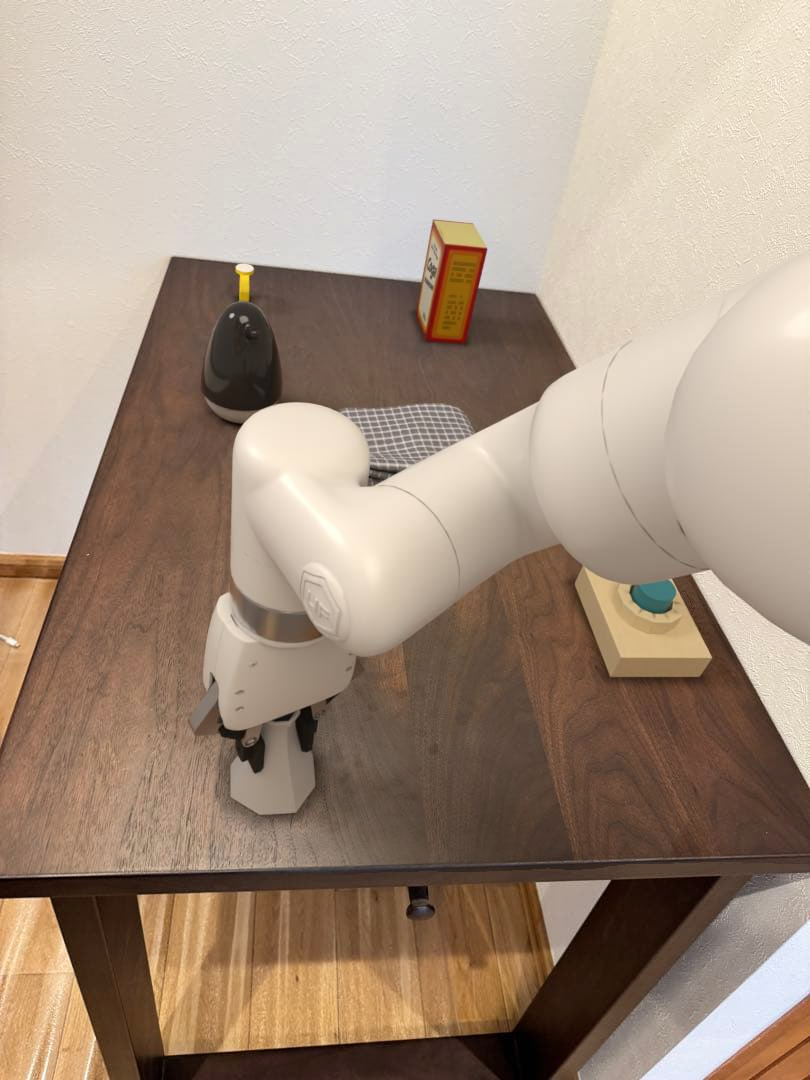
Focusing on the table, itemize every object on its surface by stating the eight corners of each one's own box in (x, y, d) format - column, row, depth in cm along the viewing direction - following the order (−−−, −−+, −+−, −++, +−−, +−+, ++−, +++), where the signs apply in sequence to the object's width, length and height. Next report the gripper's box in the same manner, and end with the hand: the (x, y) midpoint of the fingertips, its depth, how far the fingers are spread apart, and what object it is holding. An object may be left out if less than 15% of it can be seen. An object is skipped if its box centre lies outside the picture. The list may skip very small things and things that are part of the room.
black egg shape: (212, 440, 97) (212, 328, 87) (192, 394, 104) (190, 285, 93) (291, 430, 101) (299, 323, 91) (267, 387, 108) (273, 282, 98)
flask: (215, 806, 62) (215, 735, 56) (244, 731, 68) (247, 658, 61) (303, 827, 62) (314, 759, 56) (325, 750, 68) (337, 680, 61)
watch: (234, 293, 126) (235, 257, 122) (252, 295, 127) (253, 259, 123) (234, 311, 122) (235, 274, 118) (253, 312, 122) (254, 276, 118)
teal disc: (674, 614, 81) (682, 601, 79) (638, 614, 80) (646, 600, 79) (660, 586, 84) (668, 572, 82) (625, 585, 83) (632, 571, 81)
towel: (491, 520, 94) (507, 469, 89) (341, 525, 89) (349, 471, 84) (457, 445, 105) (469, 395, 100) (321, 445, 100) (327, 393, 95)
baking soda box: (415, 312, 132) (433, 216, 121) (453, 315, 133) (473, 221, 122) (426, 341, 125) (445, 242, 114) (465, 343, 126) (488, 246, 116)
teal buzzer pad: (699, 677, 81) (720, 646, 78) (610, 677, 79) (627, 645, 76) (655, 586, 90) (672, 555, 87) (574, 584, 88) (588, 552, 85)
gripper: (373, 520, 56) (345, 678, 68) (141, 584, 48) (156, 749, 60) (429, 592, 52) (388, 746, 64) (183, 674, 44) (190, 832, 56)
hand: (275, 746), depth 62 cm, fingers closed on flask, 3 cm apart
